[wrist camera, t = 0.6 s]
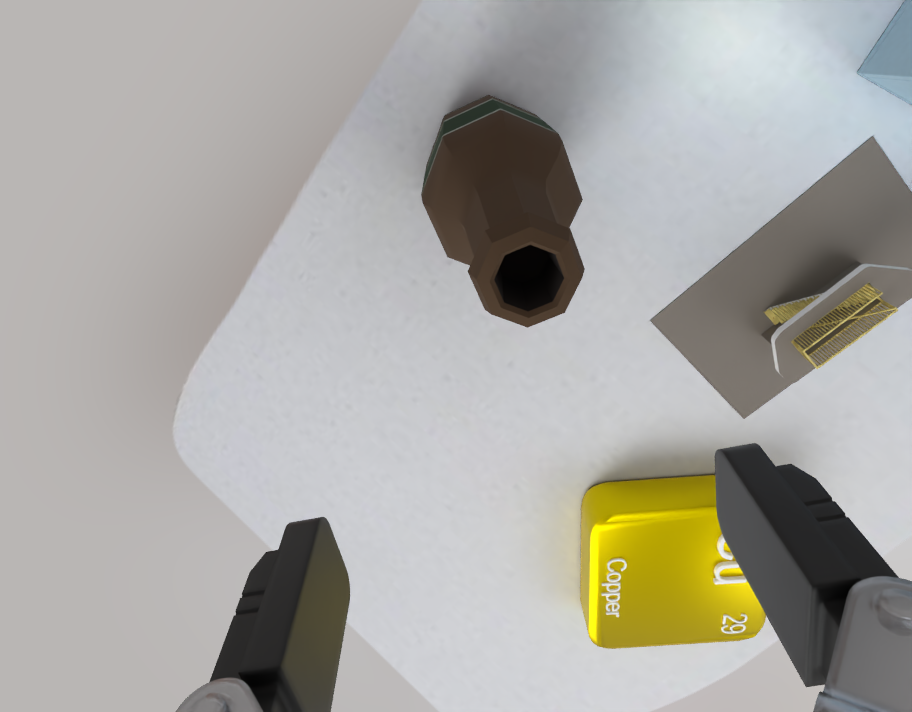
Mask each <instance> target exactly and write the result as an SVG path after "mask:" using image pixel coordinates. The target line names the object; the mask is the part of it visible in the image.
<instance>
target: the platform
mask: <svg viewBox="0 0 912 712" xmlns="http://www.w3.org/2000/svg"><path fill="white" fill-rule="evenodd" d="M911 298H912V192H911V191H910V190H909V188H908V187H907V185H906V184H905V182H904V181H903V179H902V178H901V176H900V175H899V174H898V172H897V171H896V169H895V168H894V166H893V165H892V163H891V162H890V161H889V159H888V158H887V156H886V155H885V153H884V152H883V150H882V149H881V147H880V146H879V145H878V143H877V142H876V140H875V139H874V137H873V136H872V137H871V138H870V139H869V140H868V141H866V142H865V143H864V144H863V145H862V146H860V147H859V148H858V149H857V150H856V151H854V152H853V153H852V154H851V155H849V156H848V157H847V158H846V159H845V160H843V161H842V162H841V163H840V164H839V165H837V166H836V167H835V168H834V169H833V170H831V171H830V172H829V173H828V174H827V175H825V176H824V177H823V178H822V179H821V180H819V181H818V182H817V183H816V184H814V185H813V186H812V187H811V188H810V189H808V190H807V191H806V192H805V193H804V194H802V195H801V196H800V197H799V198H798V199H796V200H795V201H794V202H793V203H792V204H790V205H789V206H788V207H787V208H786V209H784V210H783V211H782V212H781V213H780V214H778V215H777V216H776V217H775V218H773V219H772V220H771V221H770V222H769V223H767V224H766V225H765V226H764V227H763V228H761V229H760V230H759V231H758V232H757V233H755V234H754V235H753V236H752V237H751V238H749V239H748V240H747V241H746V242H745V243H743V244H742V245H741V246H740V247H738V248H737V249H736V250H735V251H734V252H732V253H731V254H730V255H729V256H728V257H726V258H725V259H724V260H723V261H722V262H720V263H719V264H718V265H717V266H716V267H714V268H713V269H712V270H711V271H710V272H708V273H707V274H706V275H705V276H704V277H702V278H701V279H700V280H699V281H697V282H696V283H695V284H694V285H693V286H691V287H690V288H689V289H688V290H687V291H685V292H684V293H683V294H682V295H681V296H679V297H678V298H677V299H676V300H675V301H673V302H672V303H671V304H670V305H669V306H667V307H666V308H665V309H664V310H662V311H661V312H660V313H659V314H658V315H656V316H655V317H654V318H653V319H652V320H650V321H651V322H652V323H653V324H654V325H655V326H656V327H657V328H658V329H659V330H660V331H661V332H662V333H663V334H664V336H665V337H666V338H667V339H668V340H669V341H670V342H671V343H672V344H673V345H674V346H675V347H676V348H677V349H678V350H679V351H680V352H681V353H682V354H683V355H684V357H685V358H686V359H687V360H688V361H689V362H690V363H691V364H692V365H693V366H694V367H695V368H696V369H697V370H698V371H699V372H700V373H701V374H702V375H703V376H704V378H705V379H706V380H707V381H708V382H709V383H710V384H711V385H712V386H713V387H714V388H715V389H716V390H717V391H718V392H719V393H720V394H721V395H722V396H723V397H724V399H725V400H726V401H727V402H728V403H729V404H730V405H731V406H732V407H733V408H734V409H735V410H736V411H737V412H738V413H739V414H740V415H741V416H742V417H743V418H744V419H745V418H746V417H747V416H749V415H750V414H751V413H753V412H754V411H756V410H757V409H758V408H760V407H761V406H762V405H764V404H765V403H766V402H768V401H769V400H771V399H772V398H773V397H775V396H776V395H777V394H779V393H780V392H782V391H783V390H784V389H786V388H787V387H788V386H790V385H791V384H793V383H795V382H797V381H798V380H799V379H801V378H802V377H804V376H805V375H806V374H808V373H809V372H810V371H812V370H813V369H815V368H816V369H818V368H820V367H821V366H822V365H824V364H825V363H826V362H828V361H829V360H831V359H832V358H833V357H835V356H836V355H837V354H839V353H840V352H842V351H843V350H844V349H846V348H847V347H848V346H850V345H851V344H853V343H854V342H855V341H857V340H858V339H859V338H861V337H862V336H864V335H865V334H866V333H868V332H869V331H870V330H872V329H873V328H875V327H876V326H877V325H879V324H880V323H881V322H883V321H884V320H886V319H887V318H888V317H890V316H891V315H892V314H894V313H895V312H897V311H898V309H897V308H898V307H900V306H901V305H902V304H904V303H905V302H906V301H908V300H909V299H911ZM887 315H888V316H887ZM876 323H877V324H876ZM865 331H866V332H865ZM858 336H859V337H858ZM854 339H855V340H854ZM843 347H844V348H843ZM832 355H833V356H832ZM821 363H822V364H821Z"/></svg>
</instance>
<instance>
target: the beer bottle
mask: <svg viewBox="0 0 912 712" xmlns="http://www.w3.org/2000/svg"><path fill="white" fill-rule="evenodd" d="M421 195H422V201H423V204H424V206H425V209H426V211H427V213H428V215H429V217H430V220H431V222H432V224H433V226H434V228H435V230H436V233H437V235H438V237H439V239H440V241H441V244H442V246H443V248H444V250H445V252H446V254H447V257H449V258H452V259H454V260H457V261H460V262H462V263H465V264H468V265H470V267H469V270H468V273H469V275H470V277H471V280H472V282H473V284H474V286H475V288H476V291H477V293H478V295H479V297H480V300H481V302H482V304H483V306H484V308H485V310H486V311H488V312H489V313H491V314H492V315H495V316H498V317H500V318H503V319H506V320H509V321H512V322H514V323H517V324H520V325H523V326H525V327H530V326H532V325H535V324H537V323H540V322H542V321H545V320H547V319H550V318H552V317H555V316H557V315H560V314H562V313H565V311H566V309H567V307H568V305H569V303H570V301H571V299H572V297H573V295H574V293H575V291H576V289H577V287H578V285H579V283H580V281H581V279H582V276H583V273H584V266H583V263H582V260H581V258H580V255H579V252H578V249H577V247H576V244H575V241H574V238H573V236H572V233H571V230H570V228H569V227H570V225H571V223H572V221H573V219H574V217H575V215H576V212H577V210H578V208H579V206H580V204H581V202H582V200H583V199H582V196H581V194H580V191H579V188H578V185H577V182H576V179H575V176H574V173H573V171H572V168H571V165H570V162H569V159H568V156H567V153H566V151H565V148H564V145H563V142H562V140H561V138H560V136H559V134H558V133H557V132H556V131H555V130H553V129H552V128H551V127H550V126H549V125H547V124H546V123H545V122H544V121H543V120H541V119H540V118H539V117H538V116H537V115H535V114H533V113H530V112H528V111H526V110H523V109H521V108H519V107H516V106H514V105H512V104H509V103H507V102H505V101H502V100H500V99H497V98H495V97H493V96H490V95H487V96H485V97H483V98H481V99H479V100H477V101H474V102H472V103H470V104H468V105H466V106H464V107H462V108H459V109H457V110H455V111H453V112H451V113H449V114H447V115H445V116H444V118H443V121H442V124H441V127H440V129H439V132H438V135H437V138H436V140H435V143H434V146H433V149H432V151H431V154H430V157H429V160H428V162H427V166H426V172H425V177H424V183H423V189H422V194H421Z"/></svg>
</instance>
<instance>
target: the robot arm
mask: <svg viewBox="0 0 912 712" xmlns="http://www.w3.org/2000/svg"><path fill="white" fill-rule="evenodd" d="M715 481H716V509H717V517H718V522H719V526H720V529H721V532H722V535H723V537H724V539H725V541H726V543H727V545H728V547H729V549H730V551H731V552H732V554H733V556H734V558H735V560H736V561H737V563H738V565H739V567H740V569H741V570H742V572H743V574H744V576H745V578H746V579H747V581H748V583H749V585H750V587H751V589H752V590H753V592H754V594H755V596H756V598H757V599H758V601H759V603H760V605H761V607H762V608H763V610H764V612H765V614H766V616H767V617H768V619H769V621H770V623H771V625H772V626H773V628H774V630H775V632H776V634H777V635H778V637H779V639H780V641H781V643H782V645H783V646H784V648H785V650H786V652H787V654H788V655H789V657H790V659H791V661H792V663H793V664H794V666H795V668H796V670H797V672H798V673H799V675H800V677H801V679H802V680H803V682H804V684H805V686H806V687H810V686H817V685H824V684H825V688H824V691H823V692H819V695H818V697H817V700H816V704H815V708H814V711H813V712H912V581H909V580H906V579H901V578H899V577H898V576H897V575H896V574H895V573H894V572H893V570H892V569H891V568H890V567H889V566H888V564H887V563H886V562H885V561H884V560H883V558H882V557H881V556H880V555H879V554H878V552H877V551H876V550H875V549H874V548H873V546H872V545H871V544H870V543H869V542H868V540H867V539H866V538H865V537H864V536H863V534H862V533H861V532H860V531H859V530H858V528H857V527H856V526H855V525H854V524H853V522H852V521H851V520H850V519H849V518H848V517H847V518H846V516H845V513H844V512H843V511H842V509H841V508H840V507H839V506H838V505H837V503H836V502H835V501H834V502H833V501H832V497H831V496H830V495H829V494H828V493H827V491H826V490H825V489H824V488H823V487H822V485H821V484H820V483H819V482H818V481H817V479H816V478H814V477H812V476H811V475H809V474H807V473H805V472H804V471H802V470H800V469H799V468H797V467H795V466H794V465H792V464H787V465H781V466H775V465H774V464H773V463H772V461H771V460H770V459H769V457H768V456H767V455H766V453H765V452H764V451H763V450H762V448H761V447H760V446H759V445H758V444H756V443H753V444H747V445H742V446H736V447H730V448H724V449H719V450H717V451H716V453H715ZM349 601H350V584H349V577H348V573H347V570H346V567H345V564H344V561H343V559H342V556H341V553H340V551H339V548H338V546H337V543H336V540H335V538H334V535H333V532H332V530H331V527H330V524H329V522H328V520H327V519H326V518H325V517H320V518H314V519H308V520H303V521H297V522H291V523H289V524H288V525H287V526H286V528H285V531H284V534H283V537H282V540H281V543H280V546H279V549H278V550H275V551H269V552H266V553H265V554H264V556H263V557H262V558H261V559H260V560H259V562H258V563H257V564H256V565H255V567H254V568H253V569H252V570H251V572H250V573H249V576H248V579H247V581H246V584H245V587H244V590H243V592H242V598H240V601H239V603H238V606H237V609H236V616H234V617H233V620H232V622H231V625H230V628H229V631H228V633H227V636H226V639H225V641H224V644H223V647H222V650H221V652H220V655H219V658H218V660H217V663H216V666H215V668H214V671H213V674H212V677H211V679H210V682H209V683H207V684H205V685H203V686H202V687H200V688H199V689H197V690H196V691H194V692H193V693H192V694H191V695H190V696H189V697H187V698H186V699H185V700H184V702H183V703H182V704H181V705H180V706H179V708H178V709H177V711H176V712H331V705H332V700H333V694H334V688H335V683H336V677H337V671H338V665H339V659H340V654H341V648H342V642H343V636H344V630H345V624H346V619H347V613H348V607H349Z"/></svg>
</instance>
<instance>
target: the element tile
mask: <svg viewBox="0 0 912 712" xmlns="http://www.w3.org/2000/svg"><path fill="white" fill-rule="evenodd" d="M580 600H581V604H582V608H583V613H584V617H585V621H586V625H587V630H588V634H589V637H590V639H591V640H592V642H593V643H594V644H596V645H597V646H599V647H603V648H611V649H615V648H631V647H647V646H663V645H679V644H695V643H712V642H728V641H740V640H745V639H749V638H752V637H754V636H756V635H757V633H758V632H759V631H760V630H761V628H762V627H763V625H764V622H765V618H766V614H765V612H764V610H763V608H762V607H761V605H760V603H759V601H758V599H757V598H756V596H755V594H754V592H753V590H752V589H751V587H750V585H749V583H748V581H747V579H746V578H745V576H744V574H743V572H742V570H741V569H740V567H739V565H738V563H737V561H736V560H735V558H734V556H733V554H732V552H731V551H730V549H729V547H728V545H727V543H726V541H725V539H724V537H723V535H722V532H721V529H720V526H719V522H718V517H717V509H716V481H715V475H704V476H690V477H675V478H661V479H646V480H631V481H617V482H606V483H601V484H598V485H596V486H593V487H592V488H591V489H589V490H588V491H587V492H586V494H585V496H584V498H583V501H582V506H581V597H580Z"/></svg>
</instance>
